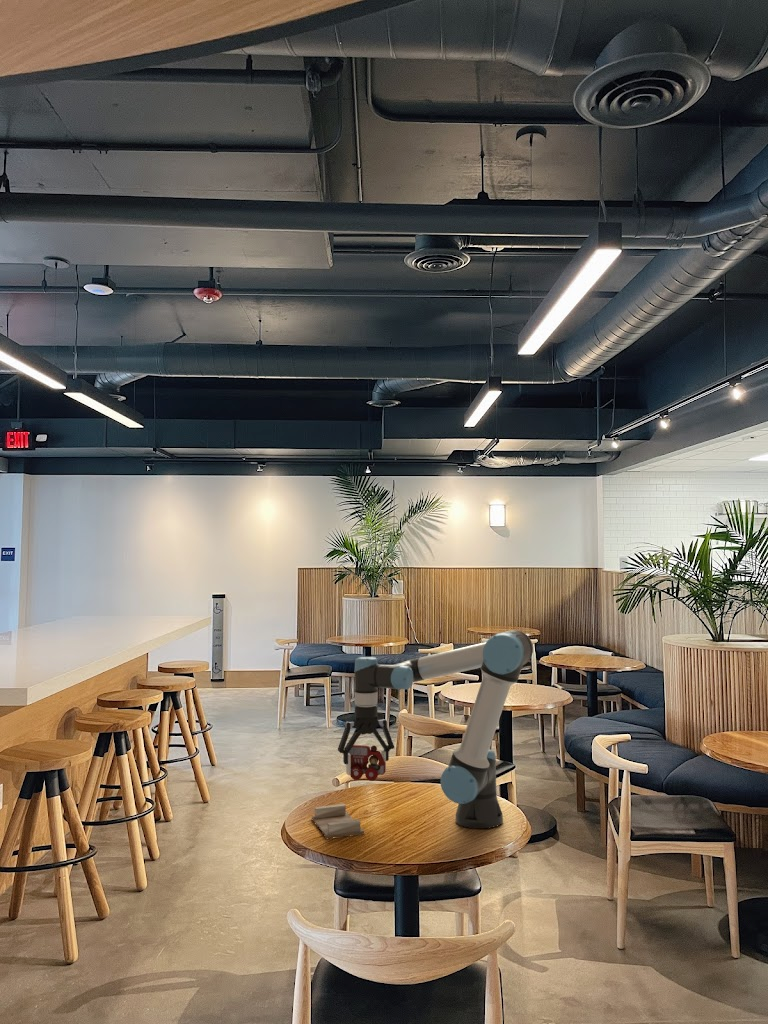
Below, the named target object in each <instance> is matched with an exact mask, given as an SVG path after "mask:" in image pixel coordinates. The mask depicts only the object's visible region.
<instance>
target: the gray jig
mask: <svg viewBox="0 0 768 1024" xmlns="http://www.w3.org/2000/svg"><path fill="white" fill-rule="evenodd" d="M346 807H347V806H346V804H345V803H339V804H331V805H324V806H315V807H314V816H311V820H312V819H313V821H314V822H315V823H316V825H317V826H318V827H319V829H320V830H321V831H322V833H323V834H324V835H325V837H326V838H333V837H341V838H344V837H343V836H348V837H351V836H350V835H355V836H360V835H364V834H365V830H364V829H363V828H362V827H361V820H360V819H359V818H356V819H355V818H354V819H353V817H352V816H351V815H350V814H349V813H348V812H347V810H346ZM313 821H312V822H313ZM314 822H313V823H314ZM315 823H314V824H315ZM316 825H315V826H316ZM317 826H316V827H317ZM318 827H317V828H318ZM319 829H318V830H319ZM320 830H319V831H320ZM321 831H320V832H321ZM322 833H321V834H322ZM323 834H322V835H323ZM324 835H323V836H324ZM325 837H324V838H325ZM326 838H325V839H326Z"/></svg>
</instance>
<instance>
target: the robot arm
mask: <svg viewBox="0 0 768 1024" xmlns="http://www.w3.org/2000/svg"><path fill="white" fill-rule="evenodd" d="M533 645H534V644H533V642H532V639H531V638H530V637H529V636H528V635H527V634H526V632H524V631H521V630H519V629H510V630H507V631H502V632H498V633H495V634H494V635H492V636H491V637H490V638H488V640H486V641H485V642H480V643H476V644H472V645H468V646H465V647H463V646H462V647H460V648H455V649H451V650H447V651H443V652H438V653H434V654H430V655H424V656H421V657H417V658H411V659H407V660H404V661H402V662H398V663H394V664H381V663H378V658H376V657H375V656H360V657H357V658H356V659H355V661H354V671H353V673H354V704H355V706H354V720H353V721H346V720H345V722H344V730H343V733H342V736H341V739H340V741H339V745H338V747H337V751H338V752H339V753H340V754H342V755H343V757H342V759H343V760H342V761H343V764H344V765H346V767H345V771H346V772H345V773H346V775H347V776H350V775H351V755H350V754H349V751H350V750H351V748H352V747H353V745H355V743H356V741H357V740H358V738H359V737H360V736H361V735H372V734H373V735H374V737H375V738H376V740H377V741H378V743H379V744H380V745H381V747H382V749H381V750H380V753H381V755H382V757H383V759H384V761H385V773H386V772H387V762H388V761H389V760H390V759H389V757H390V755H389V753H390V751H391V750H393V749H395V745H394V741H393V740H392V739H393V738H392V737H391V734H390V731H389V727H388V720H386V719H384V718H381V719H378V705H377V704H378V688H379V689H390V690H391V689H392V690H399V691H400V690H409V689H410V688H411V686H413V683H417V682H421V681H425V680H429V679H435V678H439V677H443V676H448V675H453V674H457V673H461V672H462V673H463V672H467V671H471V670H475V669H479V668H480V670H481V671H480V672H481V673H482V675H483V676H482V679H481V682H480V686H479V689H478V692H477V695H476V698H475V700H474V704H473V707H472V710H471V713H470V716H469V719H468V722H467V725H466V728H465V731H464V734H463V736H462V741H461V742H460V743H461V744H460V747H458V748H455V749H454V750H453V752H452V754H451V757H450V760H449V763H448V766H447V767H446V768H445V769H444V770H443V772H442V773H441V777H440V787H441V790H442V792H443V794H444V795H445V797H447V799H448V800H449V801H450V802H453V803H455V804H458V805H457V807H456V810H455V811H456V812H455V823H456V822H457V823H458V824H457V823H456V824H457V825H459V826H461V827H463V826H464V827H465V828H467V827H469V828H468V829H473V828H488V829H490V828H489V827H493V826H497V825H500V824H501V823H502V822H503V823H504V815H503V812H502V809H501V807H500V802H499V800H498V795H497V769H496V768H497V767H496V766H497V765H496V763H497V760H496V754H495V751H494V750H493V749H491V747H492V742H493V739H494V736H495V733H496V730H497V727H498V724H499V721H500V717H501V715H502V712H503V710H504V706H505V704H506V700H507V697H508V694H509V691H510V690H511V686H512V685H514V684H516V683H518V680H519V676H520V675H521V672H522V668H523V666H525V665H526V664H527V663H528V662H529V661H530V660H531V658H533V657H532V656H533V653H534V646H533ZM378 726H380V727H381V728H382V731H383V735H384V737H385V740H386V742H387V743H386V742H385V741H384V739H383V737H382V736H381V735H380V733H379V732H378V730H377V727H378ZM353 727H354V728H355V730H354V732H353V734H352V735H351V737H350V739H349V740H348V738H349V735H350V733H351V729H353ZM347 741H348V742H347ZM503 823H502V824H503ZM502 824H501V825H502ZM501 825H500V826H501ZM497 827H498V826H497Z"/></svg>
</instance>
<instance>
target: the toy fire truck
mask: <svg viewBox="0 0 768 1024" xmlns="http://www.w3.org/2000/svg"><path fill="white" fill-rule="evenodd" d="M349 754H350V755H351V775H349V776H350V777H351V779H353V780H354V781H358V780H360V779H361V778H362V777H363V776H365V778H366V779H367V780H368V781H371V782H373V781H376V779H378V776H379V775H380V776H382V775H384V774H385V773H386V772H385V761H384V759H383V757H382V755H381V750H380V751H379V750H378V747H377V746H376V745H373V744H372V746H369V745H360V744H359V745H358V744H357V745H356V744H354V745H353V747H352V748H351V750H350V751H349Z"/></svg>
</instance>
